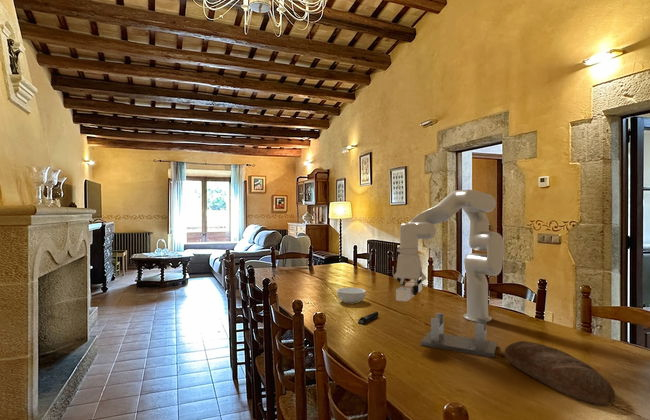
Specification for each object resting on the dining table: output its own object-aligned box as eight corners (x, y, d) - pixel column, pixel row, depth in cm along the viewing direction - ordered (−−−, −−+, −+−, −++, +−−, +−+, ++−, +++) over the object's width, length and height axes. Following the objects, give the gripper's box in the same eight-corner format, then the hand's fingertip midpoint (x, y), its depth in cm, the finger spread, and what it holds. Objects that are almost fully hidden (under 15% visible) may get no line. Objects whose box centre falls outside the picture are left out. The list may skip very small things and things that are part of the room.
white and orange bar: (412, 289, 169) (412, 279, 169) (422, 290, 166) (422, 279, 166) (395, 300, 148) (395, 289, 148) (406, 301, 146) (406, 290, 146)
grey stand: (428, 335, 153) (428, 310, 154) (496, 346, 141) (496, 318, 141) (420, 345, 142) (420, 318, 142) (494, 357, 129) (493, 328, 129)
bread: (529, 353, 134) (529, 330, 134) (632, 404, 98) (632, 373, 98) (492, 357, 130) (491, 334, 130) (585, 412, 95) (585, 379, 95)
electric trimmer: (380, 318, 180) (380, 311, 180) (364, 325, 168) (364, 318, 168) (373, 317, 183) (373, 310, 183) (357, 324, 170) (357, 317, 170)
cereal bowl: (367, 305, 203) (367, 293, 203) (337, 306, 203) (337, 293, 203) (364, 298, 220) (364, 287, 220) (336, 298, 220) (336, 287, 220)
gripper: (387, 251, 158) (388, 293, 158) (426, 253, 150) (427, 297, 150) (393, 250, 165) (393, 290, 165) (431, 251, 156) (431, 294, 156)
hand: (409, 293), depth 157 cm, fingers closed on white and orange bar, 4 cm apart
